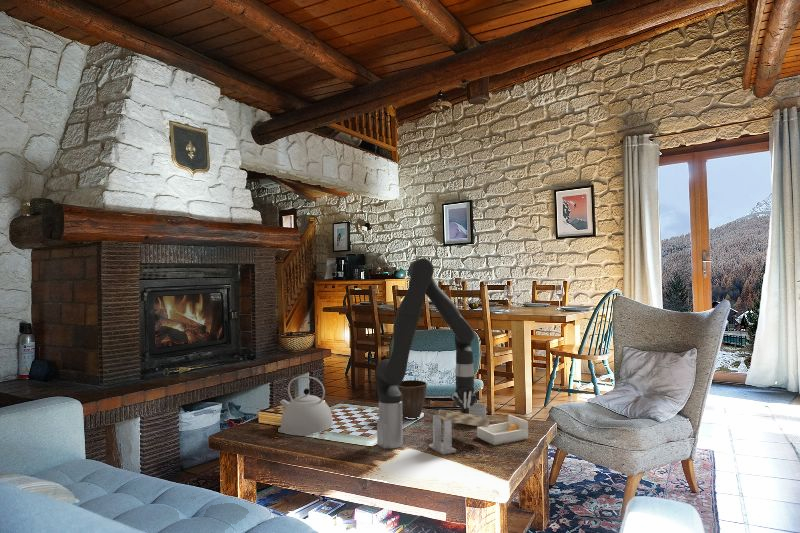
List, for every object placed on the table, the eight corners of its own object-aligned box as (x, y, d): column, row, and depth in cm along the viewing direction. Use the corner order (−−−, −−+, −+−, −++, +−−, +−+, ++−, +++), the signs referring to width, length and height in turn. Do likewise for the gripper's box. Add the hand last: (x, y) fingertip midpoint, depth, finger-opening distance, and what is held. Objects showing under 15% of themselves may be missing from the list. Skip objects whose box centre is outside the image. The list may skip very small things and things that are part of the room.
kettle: (265, 432, 222) (265, 379, 222) (292, 418, 244) (291, 370, 244) (318, 437, 215) (318, 382, 215) (341, 422, 236) (340, 372, 237)
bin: (494, 445, 202) (494, 427, 202) (477, 437, 212) (476, 419, 212) (528, 438, 209) (528, 421, 210) (509, 431, 220) (509, 414, 220)
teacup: (487, 426, 226) (487, 408, 226) (462, 427, 227) (462, 408, 227) (483, 418, 240) (483, 400, 240) (459, 418, 240) (459, 400, 241)
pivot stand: (442, 454, 192) (442, 422, 192) (429, 446, 201) (428, 415, 201) (456, 452, 195) (455, 419, 195) (442, 444, 204) (441, 413, 204)
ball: (517, 423, 212) (521, 430, 213) (510, 420, 215) (515, 427, 216) (510, 430, 210) (515, 437, 211) (504, 427, 214) (509, 434, 215)
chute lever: (445, 421, 195) (447, 413, 196) (426, 411, 209) (427, 404, 209) (488, 427, 204) (489, 419, 204) (466, 418, 217) (467, 411, 218)
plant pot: (412, 424, 231) (412, 388, 231) (388, 418, 241) (388, 383, 241) (433, 417, 242) (433, 382, 243) (409, 411, 252) (409, 378, 253)
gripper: (456, 377, 206) (456, 421, 206) (483, 374, 212) (483, 416, 212) (446, 374, 213) (446, 416, 212) (472, 371, 219) (473, 412, 218)
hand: (465, 416), depth 212 cm, fingers closed
